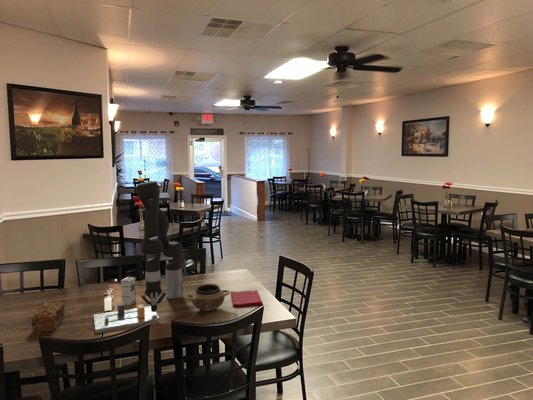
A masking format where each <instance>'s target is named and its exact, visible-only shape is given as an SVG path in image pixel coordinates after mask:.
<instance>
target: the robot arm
mask: <svg viewBox="0 0 533 400" xmlns="http://www.w3.org/2000/svg"><path fill="white" fill-rule="evenodd" d="M135 190H136V194H137V196H138V198H139V200H140V202H141V204H142V206H143V207H144V210H145V211H146V215H145V217H144V220H143V230H144V231H143V238H142V239H143V240H142V244H141V253H142V254H143V255H144V256H152V255H155V256H154V257H151V258H148V259H146V260H145V276H144V278H145V290H144V293H143V294H141V295H140V297H141V299H142V300H143V301H144V302H145V303H146V304H147V305H148V306H151V310H152V311H153V312H156V313H157V311H158V304H160V303H162V301H163V299H164V298H165V297H166V298H167V299H169V300H175V299H179V298H184V281H183V279H182V278H183V277H182V276H183V275H182V273H183V272H182V269H183V267H182V265H183V253H184V252H183V245H182V243H181V242H179V241H170V239H169V236H168V231H169V229H170V222H169V219H168V216H167V214H166V213H165V212H164V211H163V210H162V209H161V208H160V194H161V191H160V186H159V184H158V182H157V181H155V180H154V181H153V180H151V181H146V182H141V183H138V184H137V185H136V189H135ZM154 237H155V238H157V240H150V239H153V238H154ZM162 255H164V257H166V258H172V261H170V262H168V263H166V264H165V288H166V291H163V290H162V285H161V284H162V282H161V279H162V278H161V267H160V264H161V256H162ZM147 298H148V299H149V300H148V299H147Z"/></svg>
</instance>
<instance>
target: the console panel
mask: <svg viewBox="0 0 533 400" xmlns="http://www.w3.org/2000/svg"><path fill="white" fill-rule="evenodd" d="M116 305H117V311H109V312H104V313H103V312H102V313H101V312H100V313H97V314H93V321H94V322H93V323H94V332H95V334H100V333H107V332H113V331H119V330H124V329H130V328H134V327H135V328H136V327H139V326H138V325H140V324H143V323H145V322H149V323H150V324H149V325H153V324H152V323H154V324H158V323H159V324H160V317H159V315H158V313H157V311H156V312H153V311H152V310H151V305H148V306H144V310H145V317H142V318H138V315H137V307H135V308H128V309H125V305H124V303H123V302H122V301H121V302H117V303H116Z"/></svg>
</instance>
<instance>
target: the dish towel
mask: <svg viewBox="0 0 533 400" xmlns="http://www.w3.org/2000/svg"><path fill="white" fill-rule="evenodd" d="M230 300H231V304H232V307H233V308H243V307H244V308H246V307H248V308H249V307H261V306H262V307H263V305H264V304H263V301H262V299H261V296H260V293H259V291H258V290H257V289H256V290H244V291H243V290H242V291H234V290H232V291H230Z"/></svg>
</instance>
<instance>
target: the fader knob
mask: <svg viewBox="0 0 533 400" xmlns="http://www.w3.org/2000/svg"><path fill="white" fill-rule="evenodd" d="M144 307H145V305H144V304H143V303H142V304H141V303H140V304H137V305H136V308H137V315H138V318H142V317H145V310H144Z"/></svg>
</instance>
